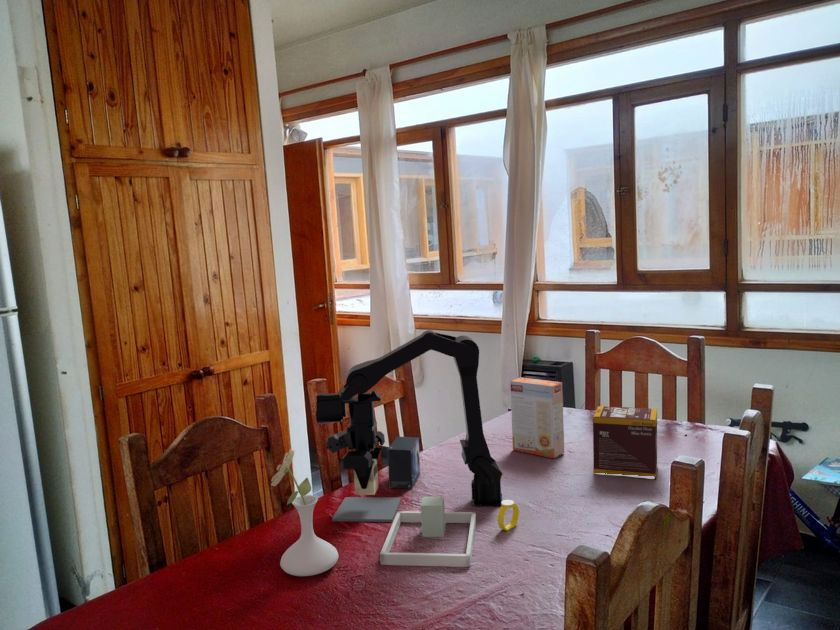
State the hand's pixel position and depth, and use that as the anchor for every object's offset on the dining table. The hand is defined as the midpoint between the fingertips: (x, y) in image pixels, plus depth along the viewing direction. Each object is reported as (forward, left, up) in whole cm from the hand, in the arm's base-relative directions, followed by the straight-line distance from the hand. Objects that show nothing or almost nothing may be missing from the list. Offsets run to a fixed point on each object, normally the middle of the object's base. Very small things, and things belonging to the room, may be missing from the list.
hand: (366, 484), depth 152 cm
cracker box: (-41, -40, -6) cm, 58 cm away
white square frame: (-17, +15, -6) cm, 23 cm away
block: (-17, +11, -6) cm, 21 cm away
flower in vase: (+6, +27, -6) cm, 28 cm away
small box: (-6, -18, -7) cm, 20 cm away
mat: (0, 0, -6) cm, 6 cm away
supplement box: (-63, -26, -7) cm, 68 cm away
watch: (-33, +8, -7) cm, 34 cm away
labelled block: (0, 0, -2) cm, 2 cm away
